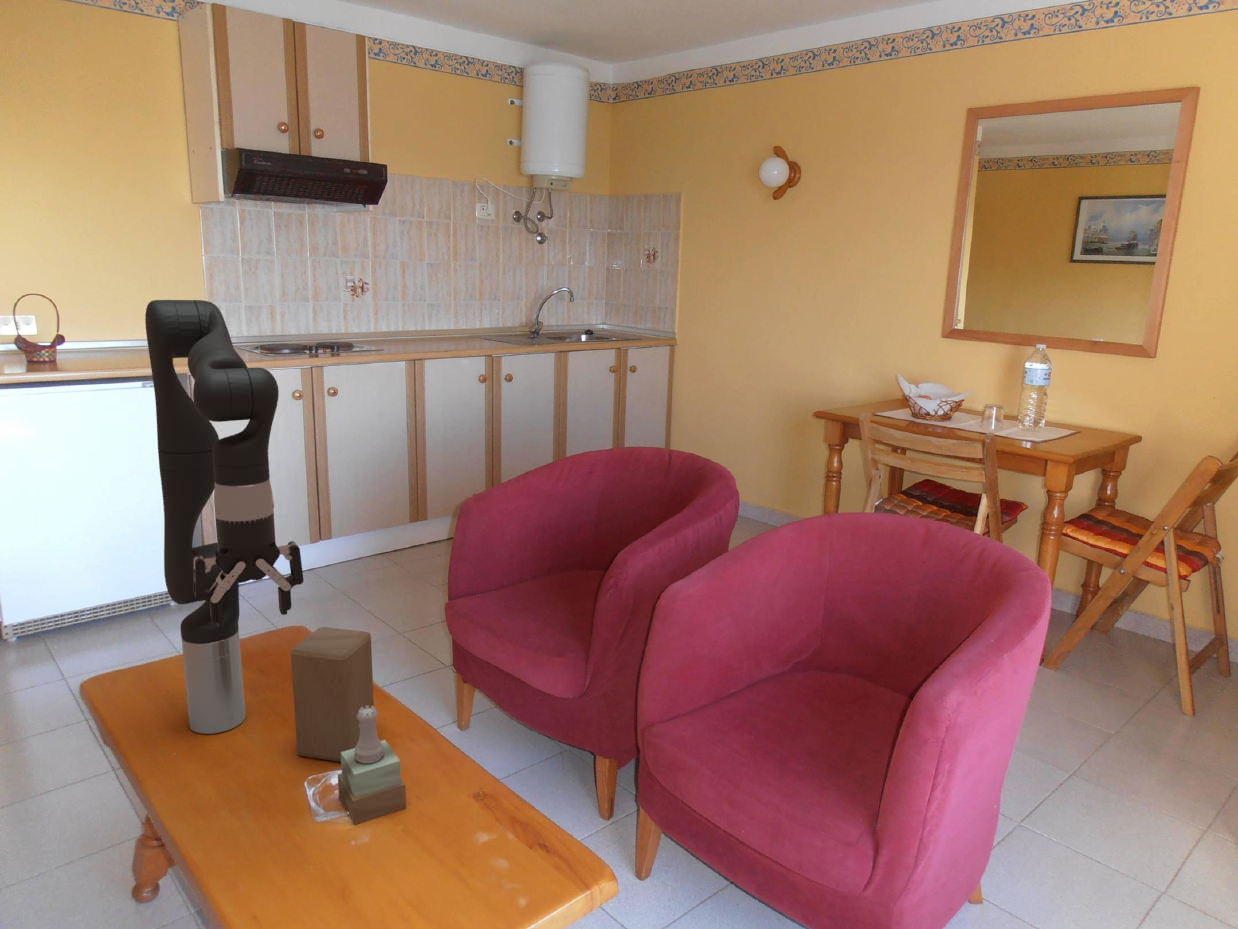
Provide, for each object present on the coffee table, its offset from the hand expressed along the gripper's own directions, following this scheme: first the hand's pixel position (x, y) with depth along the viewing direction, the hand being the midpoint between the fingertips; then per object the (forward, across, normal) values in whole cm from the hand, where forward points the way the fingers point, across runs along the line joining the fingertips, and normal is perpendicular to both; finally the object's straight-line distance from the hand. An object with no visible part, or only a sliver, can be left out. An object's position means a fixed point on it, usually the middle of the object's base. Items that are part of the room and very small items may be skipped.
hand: (252, 618), depth 124 cm
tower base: (+32, -14, +6) cm, 35 cm away
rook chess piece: (+24, -14, +6) cm, 28 cm away
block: (+32, -14, -13) cm, 37 cm away
